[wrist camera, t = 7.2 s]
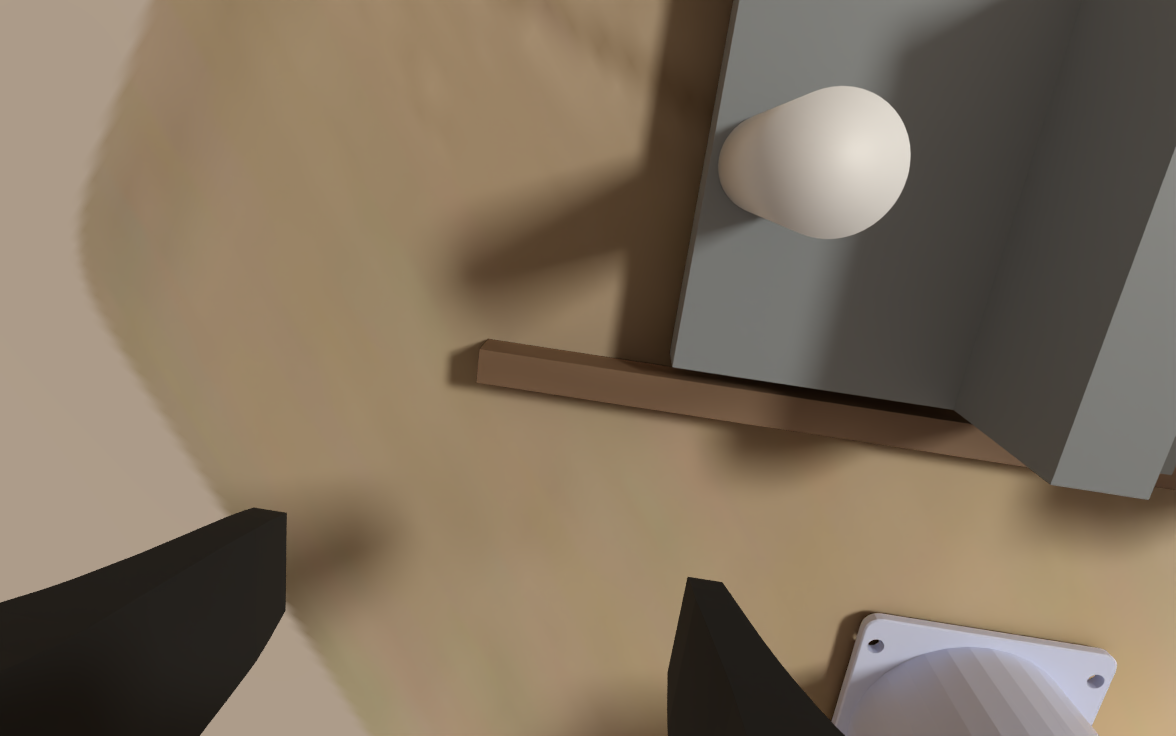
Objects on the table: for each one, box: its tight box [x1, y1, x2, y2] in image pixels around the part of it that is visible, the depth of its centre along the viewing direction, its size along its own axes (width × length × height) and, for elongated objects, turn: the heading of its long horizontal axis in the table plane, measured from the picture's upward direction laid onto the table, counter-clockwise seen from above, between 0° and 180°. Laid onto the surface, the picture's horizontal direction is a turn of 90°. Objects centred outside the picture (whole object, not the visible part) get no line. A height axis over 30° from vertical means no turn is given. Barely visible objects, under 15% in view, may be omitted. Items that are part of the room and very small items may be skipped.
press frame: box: [476, 339, 1176, 490], centre depth 15 cm, size 14×26×7 cm, turn 82°
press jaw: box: [670, 0, 1176, 500], centre depth 15 cm, size 11×10×8 cm
